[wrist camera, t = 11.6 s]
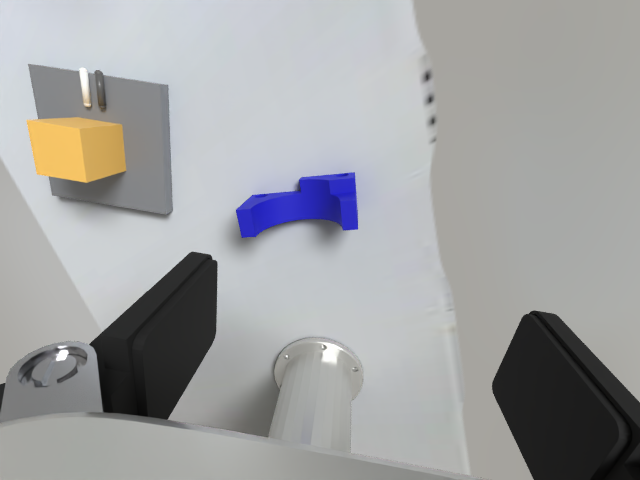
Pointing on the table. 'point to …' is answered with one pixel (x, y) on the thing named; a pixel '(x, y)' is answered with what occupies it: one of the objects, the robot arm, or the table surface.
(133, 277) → the table surface
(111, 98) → the plate
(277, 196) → the blue arch bracket
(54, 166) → the mustard yellow cube
